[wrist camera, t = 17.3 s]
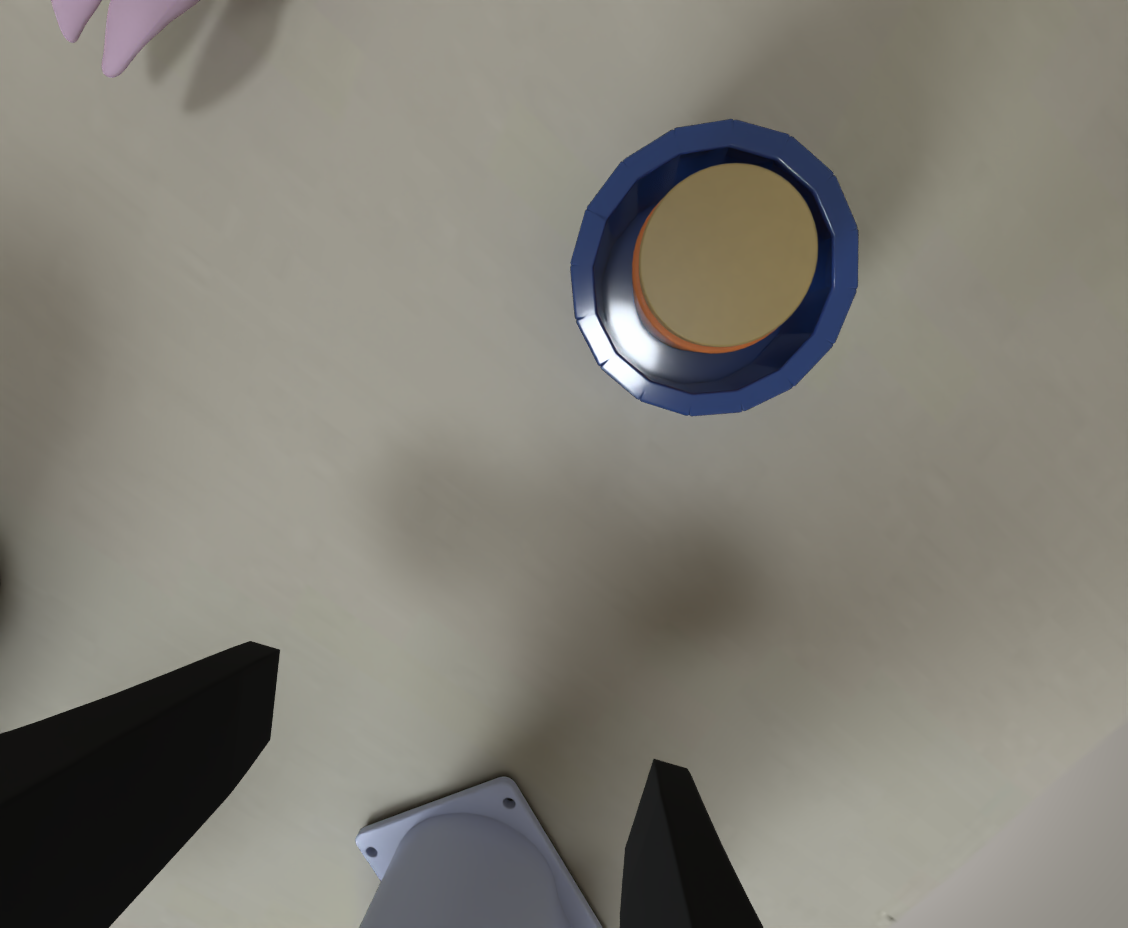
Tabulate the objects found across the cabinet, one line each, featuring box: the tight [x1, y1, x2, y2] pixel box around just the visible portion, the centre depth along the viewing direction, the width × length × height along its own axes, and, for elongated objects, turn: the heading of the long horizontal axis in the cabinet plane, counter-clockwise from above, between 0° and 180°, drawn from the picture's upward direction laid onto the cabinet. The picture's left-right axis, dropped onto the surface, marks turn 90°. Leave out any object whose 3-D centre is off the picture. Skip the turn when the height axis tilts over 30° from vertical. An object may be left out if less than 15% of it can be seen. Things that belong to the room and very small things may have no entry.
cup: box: [570, 119, 858, 416], centre depth 15 cm, size 7×7×4 cm
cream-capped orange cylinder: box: [632, 163, 818, 354], centre depth 14 cm, size 4×4×6 cm
